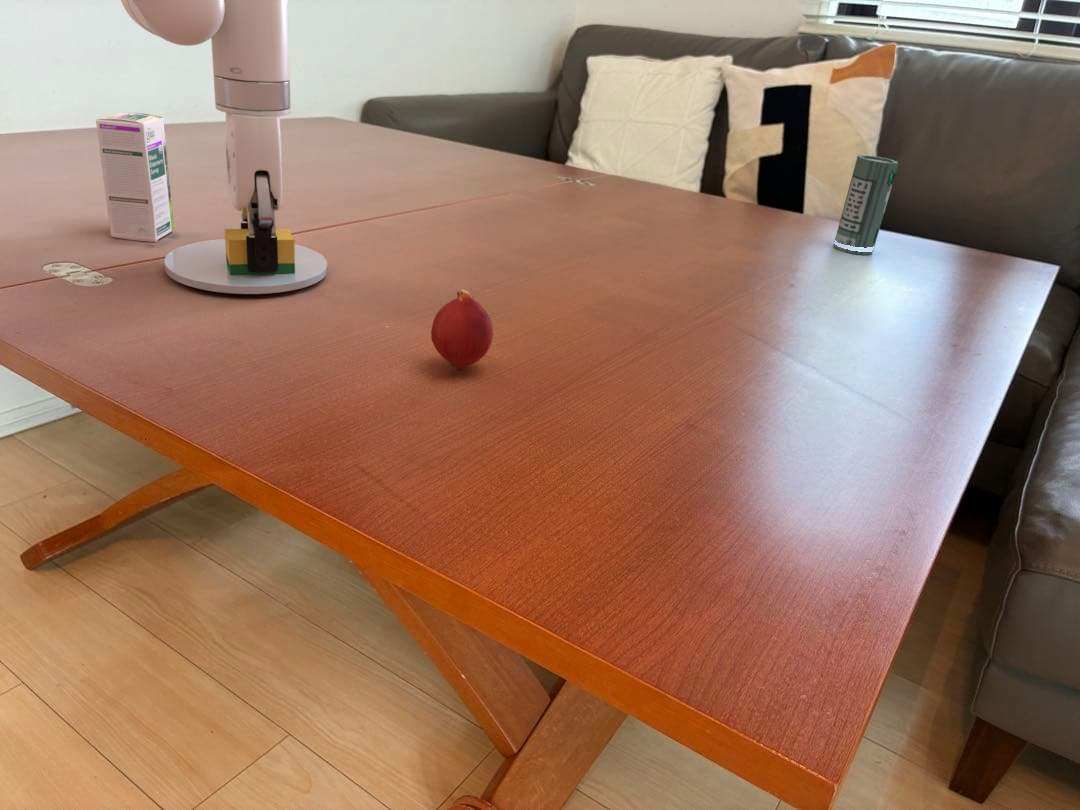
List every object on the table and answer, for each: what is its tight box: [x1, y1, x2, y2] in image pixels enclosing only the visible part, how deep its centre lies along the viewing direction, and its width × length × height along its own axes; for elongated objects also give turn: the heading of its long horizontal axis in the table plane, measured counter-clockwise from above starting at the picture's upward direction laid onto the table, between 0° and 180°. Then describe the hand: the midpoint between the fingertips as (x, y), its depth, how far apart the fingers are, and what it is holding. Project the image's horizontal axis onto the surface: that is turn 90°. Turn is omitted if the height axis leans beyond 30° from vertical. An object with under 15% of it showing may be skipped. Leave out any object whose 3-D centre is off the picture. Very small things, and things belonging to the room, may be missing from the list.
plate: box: [163, 238, 328, 295], centre depth 99 cm, size 18×18×2 cm
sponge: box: [224, 228, 296, 275], centre depth 96 cm, size 7×4×4 cm, turn 114°
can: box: [833, 154, 900, 256], centre depth 140 cm, size 6×6×15 cm
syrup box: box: [95, 111, 175, 243], centre depth 105 cm, size 6×6×14 cm
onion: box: [430, 289, 494, 370], centre depth 80 cm, size 6×6×8 cm
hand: (259, 262), depth 97 cm, fingers closed on sponge, 4 cm apart
